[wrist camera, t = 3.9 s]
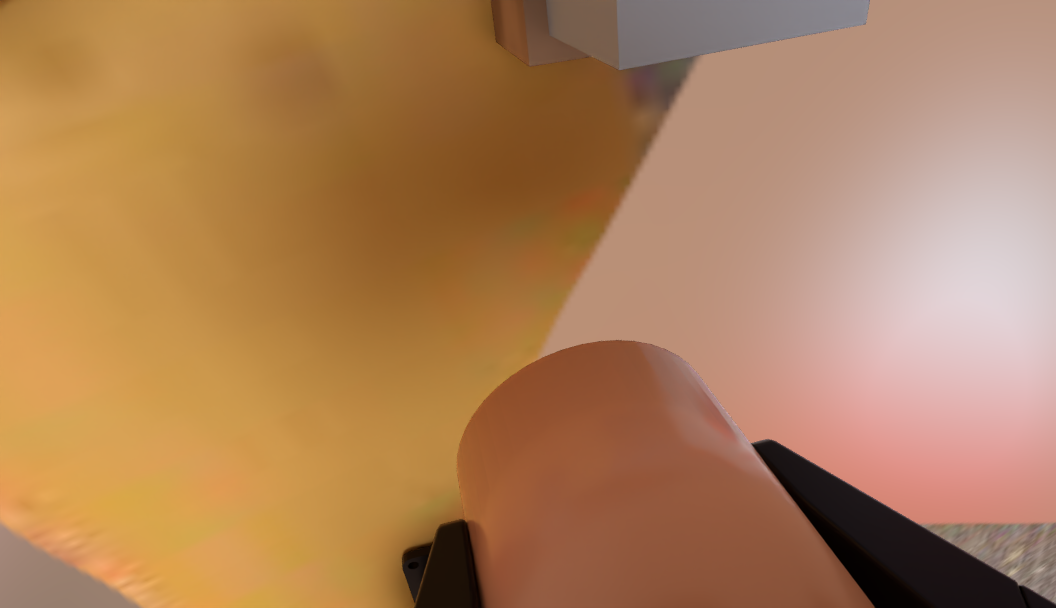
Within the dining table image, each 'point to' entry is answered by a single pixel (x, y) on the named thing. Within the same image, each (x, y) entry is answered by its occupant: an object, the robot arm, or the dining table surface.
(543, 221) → the dining table surface
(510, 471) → the terracotta cylinder
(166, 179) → the dining table surface
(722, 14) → the slate cube
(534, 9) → the walnut base block
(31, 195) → the dining table surface
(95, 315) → the dining table surface
